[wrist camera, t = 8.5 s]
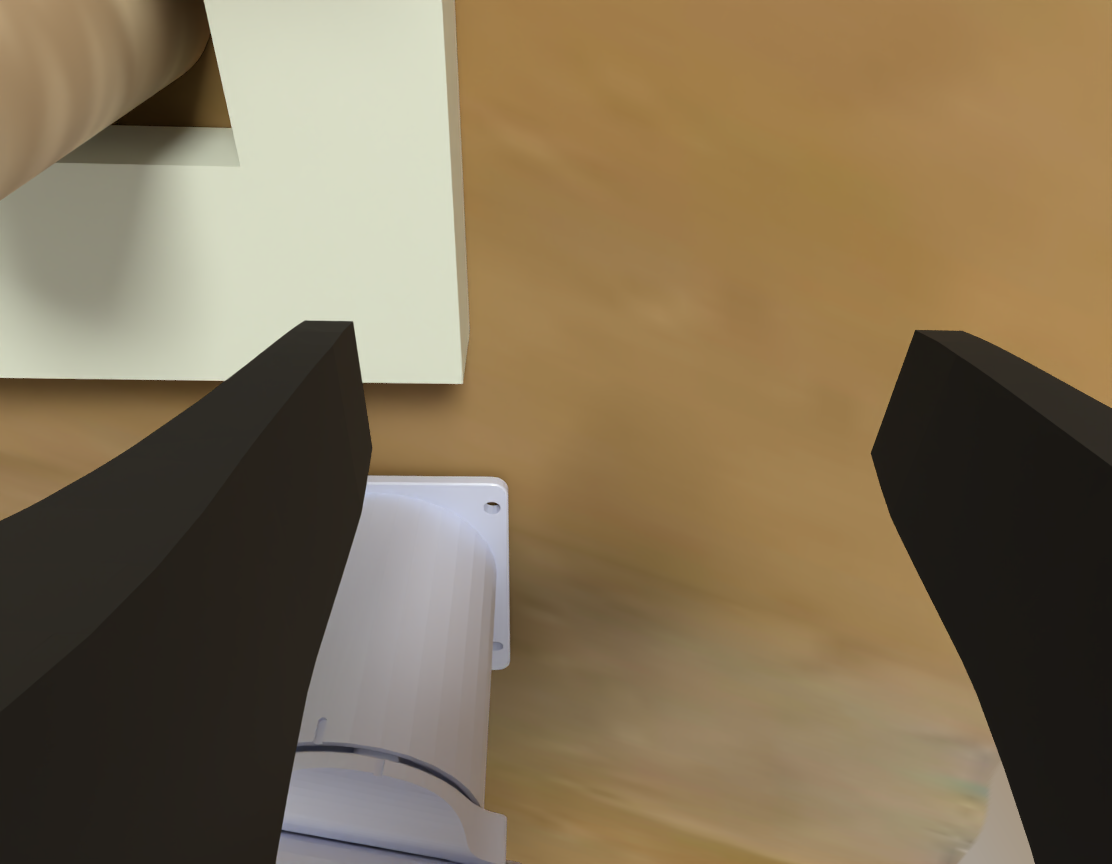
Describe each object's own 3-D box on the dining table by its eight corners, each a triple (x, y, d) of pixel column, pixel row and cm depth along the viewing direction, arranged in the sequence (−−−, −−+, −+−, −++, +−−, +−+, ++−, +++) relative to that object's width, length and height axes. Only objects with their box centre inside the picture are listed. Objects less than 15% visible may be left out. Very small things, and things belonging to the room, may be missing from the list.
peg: (232, 89, 17) (53, 240, 11) (47, 83, 17) (-243, 234, 11) (184, -136, 15) (-83, -109, 8) (-33, -144, 15) (-470, -122, 8)
